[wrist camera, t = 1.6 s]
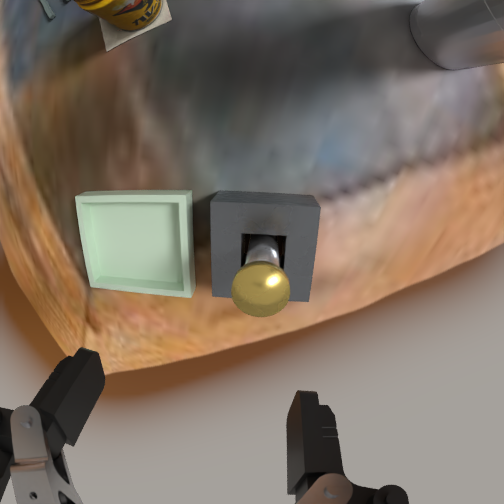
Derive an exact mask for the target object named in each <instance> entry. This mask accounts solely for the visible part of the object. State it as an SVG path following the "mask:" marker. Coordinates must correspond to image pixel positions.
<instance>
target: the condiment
mask: <svg viewBox="0 0 504 504" xmlns="http://www.w3.org/2000/svg"><path fill="white" fill-rule="evenodd" d="M74 1H75V2H76V3H77V4H78V5H79V7H81V8H82V9H83V10H85V11H88V12H89V13H91V14H93V15H95V16H98V17H99V21H100V24H101V29H102V32H103V38H104V42H105V47H106V51H109V50H111V49H112V48H114V47H116V46H118V45H120V44H121V43H123V42H125V41H127V40H129V39H131V38H133V37H135V36H138V35H140V34H142V33H144V32H146V31H148V30H150V29H152V28H155V27H157V26H159V25H161V24H164V23H166V22H168V21H170V20H172V18H171V15H170V11H169V8H168V5H167V2H166V0H74ZM117 30H119V31H117ZM120 30H122V31H120Z"/></svg>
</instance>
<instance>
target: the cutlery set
mask: <svg viewBox="0 0 504 504" xmlns="http://www.w3.org/2000/svg"><path fill="white" fill-rule="evenodd" d="M40 1H41V3H42V5H43V7H44V9H45V11H46V13H47V15H48V16H49V18H51V19H53V18H54V17H55V16H56V15H55V14H54V13H53V11H52V9H51V8H50V6H49V4H48V2H47V0H40ZM66 1H69V0H66Z"/></svg>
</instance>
